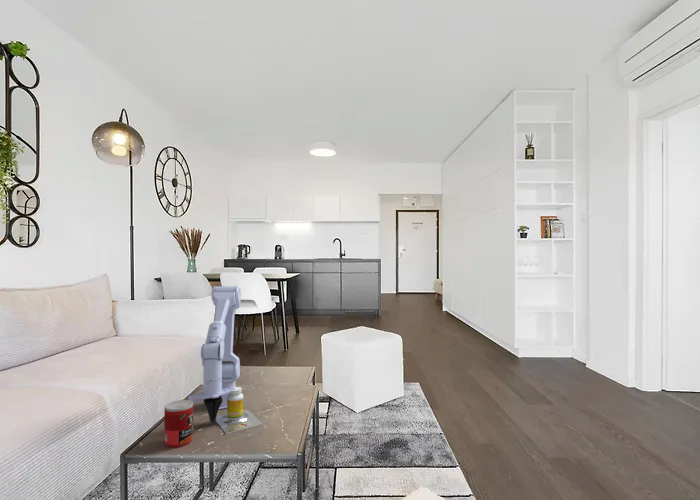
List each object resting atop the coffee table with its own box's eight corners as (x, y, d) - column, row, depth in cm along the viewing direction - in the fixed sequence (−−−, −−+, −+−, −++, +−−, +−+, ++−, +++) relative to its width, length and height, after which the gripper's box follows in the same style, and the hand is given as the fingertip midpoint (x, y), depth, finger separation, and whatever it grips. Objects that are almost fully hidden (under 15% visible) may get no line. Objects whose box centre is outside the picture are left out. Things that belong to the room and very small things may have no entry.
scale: (213, 417, 131) (213, 416, 131) (247, 410, 138) (247, 408, 138) (226, 434, 118) (225, 432, 119) (263, 424, 125) (263, 423, 125)
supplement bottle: (225, 416, 131) (225, 387, 132) (242, 413, 134) (242, 385, 134) (228, 422, 127) (228, 392, 127) (244, 418, 129) (244, 389, 129)
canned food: (183, 449, 109) (183, 410, 110) (158, 447, 111) (158, 408, 111) (198, 436, 117) (198, 400, 117) (174, 435, 118) (174, 399, 119)
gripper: (192, 386, 119) (191, 430, 119) (238, 378, 127) (238, 419, 127) (187, 380, 125) (187, 422, 124) (231, 373, 133) (231, 412, 133)
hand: (212, 420), depth 126 cm, fingers closed
